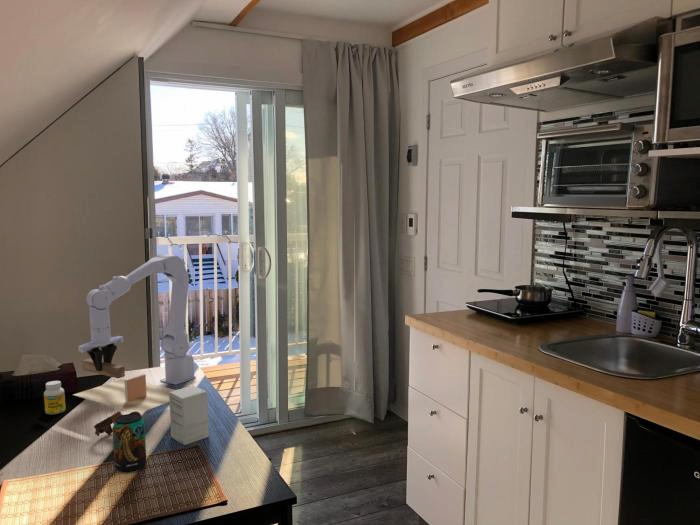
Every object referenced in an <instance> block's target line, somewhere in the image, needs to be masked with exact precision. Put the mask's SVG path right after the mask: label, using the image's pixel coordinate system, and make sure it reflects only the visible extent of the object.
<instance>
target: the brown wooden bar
mask: <svg viewBox="0 0 700 525" xmlns="http://www.w3.org/2000/svg"><path fill="white" fill-rule="evenodd" d="M81 361H82V370H83V371H86V372H90V373H94V374H98V375H102V376H107V377H110V378H114V379H120V378H121V379H122V378H125V377H126V374H125V373H126V372H125V366H124V365H120V364H116V363H112V362H111V363H107V362H104V361H103V360H102V371H96V368H95V365H94V363H93V360H92V359H91V358H86V359H85V358H84V359H83V360H81Z"/></svg>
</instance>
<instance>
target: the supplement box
mask: <svg viewBox="0 0 700 525" xmlns="http://www.w3.org/2000/svg"><path fill="white" fill-rule="evenodd" d="M174 390H175V391H171V392H169V402H168V403H169V415H170V437H171V438H172V439H173V440H175V441H177V442H178V443H180V444H182V445H183V446H186V445H189V444H192V443H195V442H198V441H200V440H203V439H206V438H209V437H210V432H209V431H210V430H209V406H208V391H206V390H204V389H202V388H201V387H200V388H199V387H197V386H195V385H190V386H186V387H182V388H180V389H174Z"/></svg>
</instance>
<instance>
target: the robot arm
mask: <svg viewBox="0 0 700 525" xmlns="http://www.w3.org/2000/svg"><path fill="white" fill-rule="evenodd" d="M153 274H163V275H165V276H166V277H167V278H168V279H169V280H170V281H171V283H172V284H171V294H170V305H169V315H168V325H167V328H166V329H165V330H164V334H163V336H162V339H161V341H160V347H161V350H162V351H164V371H165V372H164V374H165V378H163V379H162V378H161V379H160V380H159V382H163V383H166V384H170V385H175V386H176V385H179V384H183V383H184V382H187V381H191V380H194V379H196V377H197V376H196V375H195V361H194V357H193V355H192V354H191V353H190V352H189V350H190V343H189V341H188V340H189V339H188V336H189V335H188V333H187V330H186V329H185V328H186V327H185V324H186V316H187V315H186V314H187V306H188V305H187V304H188V293H189V285H190V283H189V282H190V276H189V273H188V271H187V269H186V262H185V261H184V260H183V259H182V258H181V257H180V256H178V255H177V254H176V255H175V254H174V255H170V254H166V253H160V254H157V255H156V256H154V257H151V258H150V259H149V260H148V261H146V262H145V263H143V264H141V265H140V266H139V267H138V268H136V269H134V270H133V271H131V272H130V273H128V274H127V275H125V276H124V275H117V276H116V275H114V276H112V279H111V280H109V281H108V282H106V283H104V284H101V285H99V286H98V288H96V289H95V288H94V289H91V290H90V291H88V293H87V295H86V298H85V304H86V305H87V306H89V309H88V310H89V324H90V327H89V329H90V338H91V341H89V342H87V343H86V342H85V343H84V344H81V345H78V347H77V348H78V349H77V350H78V353H81V354H84V353H87V354H88V356H89V357H90V359H92V360H93V363H94V365H95V368H96V371H102V361H103V362H107V363H112V361H113V357H114V355H115V353H116V351H117V348H118V346H117V345H115V344H122V343H124V336H122V335H117V336H112V335H111V331H112V330H111V319H110V318H111V316H110V306H111V304H112V303H113V302H114V301H115V300H117V299H119V298H120V297H121V296H124V295H125V294H126V293H128V292H129V291H131V288H132V285H133V284H135V283H138V282H139V281H141V280H142V279H144V278H146V277H148V276H150V275H153Z"/></svg>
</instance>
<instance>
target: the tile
mask: <svg viewBox="0 0 700 525" xmlns="http://www.w3.org/2000/svg"><path fill="white" fill-rule="evenodd" d="M127 378H128V379H125V378H124V379H125V380H124V384H125V402H130V401H133V400H136V399H139V398H142V397H144V396H147V394H146V383H147V378H146V374H145V373H141V374H138V375H135V376H133V377H127Z"/></svg>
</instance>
